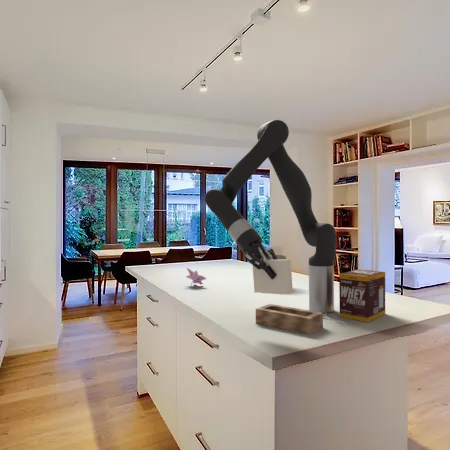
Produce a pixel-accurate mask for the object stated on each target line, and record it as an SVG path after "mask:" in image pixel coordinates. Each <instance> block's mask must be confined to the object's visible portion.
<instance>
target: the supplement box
mask: <svg viewBox="0 0 450 450" xmlns="http://www.w3.org/2000/svg"><path fill="white" fill-rule="evenodd" d="M338 275H339V276H338V278H339V281H338V282H339V287H338V288H339V291H338V292H339V318H345V319H349V320H353V321H354V320H355V321H358V322H359V321H360V322H363V323H369V322H372V321H373V320H375V319H378V318H380V317H382V316H384V315H386V271H381V270H373V269H372V270H370V269H361V268H360V269H358V268H357V269H354V270H350V271H346V272H345V271H344V272H340V273H339V274H338Z"/></svg>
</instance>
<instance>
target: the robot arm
mask: <svg viewBox="0 0 450 450" xmlns="http://www.w3.org/2000/svg"><path fill="white" fill-rule="evenodd" d="M289 134H290V130H289V127H288V124H286V122H285V121H283V120H282V119H272V120H269V121H267V122H265V123H263V124H261V125H260V126H259V127H258V129H257V133H256V138H257V142H256V144H255V145H253V147H252V148H250V150H249V151H248V152H247V153H246V154H245V155H244V156H243V157H241V159H239V160H238V161H237V162H236V163H235V164H234V165H233V166H232V167H231V169H230V170H229V171H228V172H227V173H226V175H224V177H223V179H222V181H221V182H222V183H221V184H222V187H221V188H220V189H219V188H210V189H208V190H207V191H206V193H205V195H204V202H205V205H206V206H207V207H208V209H209V210H210V212H212V213H213V214H214V215H215V216H216V218H218V220H219V221H220V224H222V226H223V228H224V229H225V230H226V232H227V233H228V234H229V235H230V237H231V239H232V240H233V241H234V242H235V244H236V245H237V247H238V248H239V249H240V250H241V252H242V253H243V254H245V256H244V259H245V260H246V261H247V262H248V263H250V264H251V265H252V267H253V266H255V267H256V268H257V269H258V270H260V269H262V270H263V271H265V272H266V273H267V274H268V276H269V277H270V278H271V279H274V278H275V277H276V276H277V274H276V273H275V271H274V270H273V269H272V268H271V267H270V266H269V264H268V262H267V261H266V258H267V257H268V258H267V260H277V257H276V255H277V254H276V253H275V251H274V249H273V248H269V249H267V247H266V246H264V244H262V242H263V238H262V237H261V235H260V234H259V233H258V232H257V230H256V229H255V228H254V226H252V224H251V223H249V221H248V220H246V218H244V216H243V215H242V214H241V213H240V211H238V210H237V208H236V207H235V206H234V205H233V203H234V201H235V200H236V198H237V196H238V193H239V192H240V190H241V189H242V188H243V187H244V186H245V184H246V183H247V182H248V181H249V179H251V177H252V176H253V175H254V174H255V172H256V171H257V170H258V169H259V168H260V166H261V165H263V163H264V162H265V161H266V160H267V159H268V160H269V162H270V164H271V165H272V168H273V170H274V172H275V174H276V176H277V178H278V181H279V182H280V185H281V187H282V190H283V191H284V194H285V195H286V198H287V199H288V201H289V204H290V206H291V208H292V210H293V213H294V214H295V217H296V218H297V221H298V224H299V227H300V231H301V233H302V236H303V238H304V240H305V242H306V243H307V245H309V246H310V247H313V248H314V247H315V253H314V254H313V255H312V256H310V257H309V258H308V310H310V311H316V312H322V313H323V314H325V313H327V314H328V313H333V312H334V311H335V277H334V276H335V273H334V272H335V269H334V267H335V266H334V263H335V262H334V261H335V259H336V256H337V231H336V229H335V227H334V225H332V224H331V223H327V222H325V223H324V222H322V223H321V222H318V220H317V218H316V216H315V215H314V211H313V209H312V208H313V207H312V189H311V186H310V183H309V181H308V179H307V177H306V175H305V173H304V171H302V169H301V168H300V167H299V166H298V165H297V164H296V162H294V161H293V159H292V158H291V156H290V155H289V154H288V152H287V150H286V148H285V145H284V144H285V143H286V141H287V140H288V138H289ZM255 262H256V263H255Z"/></svg>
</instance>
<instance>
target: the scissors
mask: <svg viewBox="0 0 450 450" xmlns="http://www.w3.org/2000/svg"><path fill="white" fill-rule="evenodd" d="M323 320H327V321H330V322H333V323H335V324H337V325H339V326H341V327H344V328H345V327H346V326H344V325H343V324H347V325H350V322H349V323H348V322H346V321H345V322H344V321H342V320H337V319H333V318H331V317H329V316H328V313H323ZM341 323H343V324H341ZM352 325H354V324H353V323H351V326H352Z"/></svg>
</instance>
